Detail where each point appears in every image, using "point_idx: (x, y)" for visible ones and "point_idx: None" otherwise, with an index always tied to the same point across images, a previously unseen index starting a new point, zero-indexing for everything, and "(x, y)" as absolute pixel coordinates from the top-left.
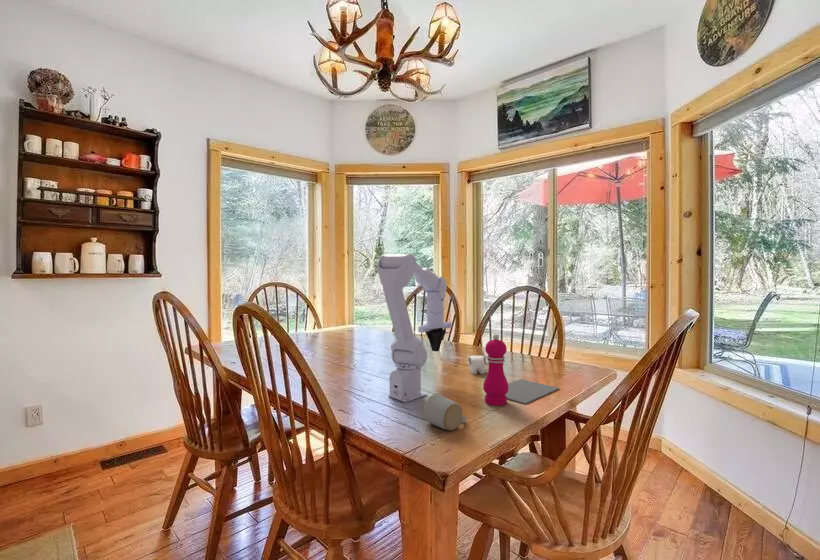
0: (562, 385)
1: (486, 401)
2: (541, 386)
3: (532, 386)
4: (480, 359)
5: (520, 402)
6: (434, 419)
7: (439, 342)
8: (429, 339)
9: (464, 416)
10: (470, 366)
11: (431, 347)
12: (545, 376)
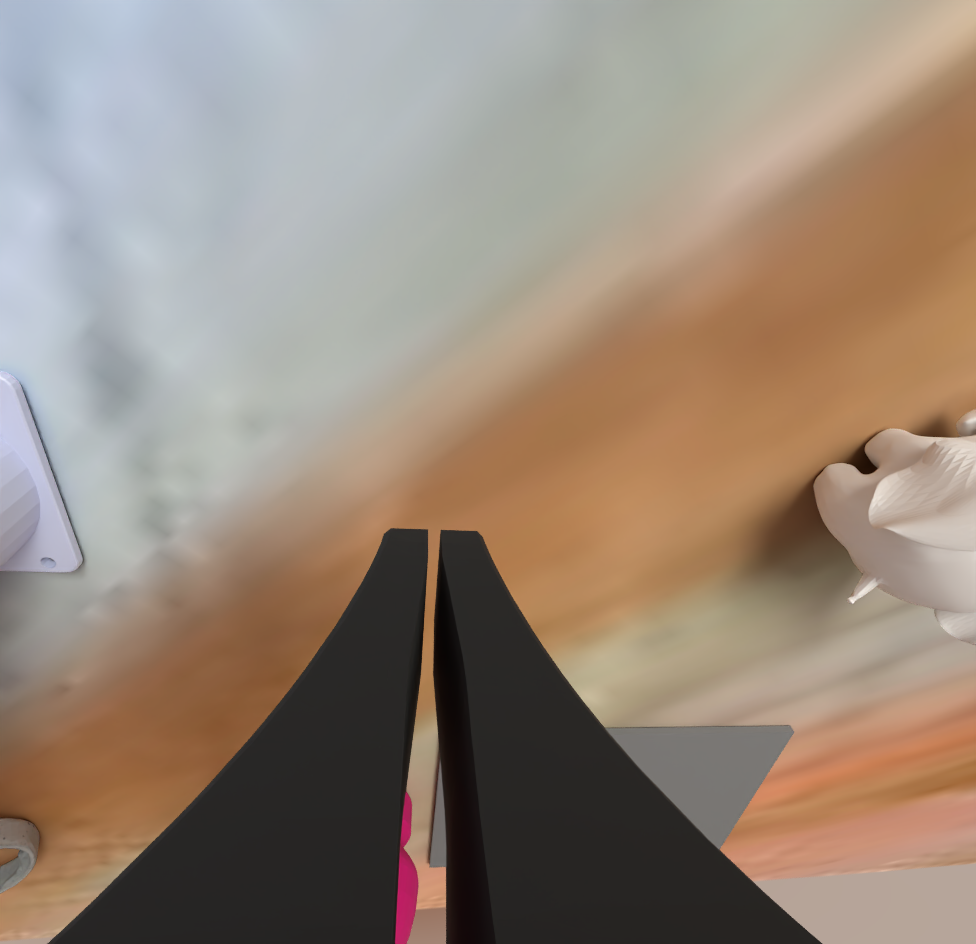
0: (779, 836)
1: None
2: (700, 820)
3: (679, 804)
4: (949, 601)
5: (431, 851)
6: None
7: (445, 813)
8: (261, 753)
9: (28, 867)
10: (895, 471)
11: (369, 572)
12: (915, 758)
